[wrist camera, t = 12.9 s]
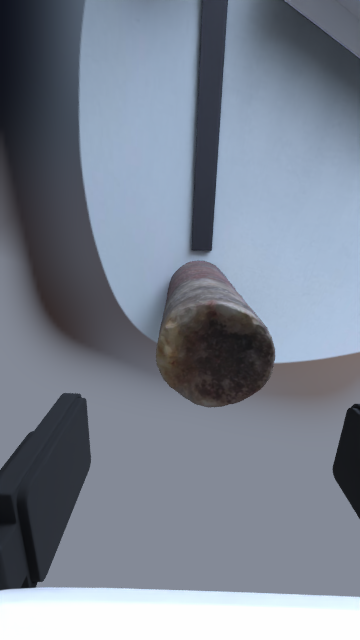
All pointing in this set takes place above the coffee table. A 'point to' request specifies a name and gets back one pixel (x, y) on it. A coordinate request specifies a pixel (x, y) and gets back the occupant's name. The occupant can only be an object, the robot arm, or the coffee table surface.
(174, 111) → the coffee table surface
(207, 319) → the brown weathered cylinder
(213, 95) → the strip
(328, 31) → the white flat lidded device
